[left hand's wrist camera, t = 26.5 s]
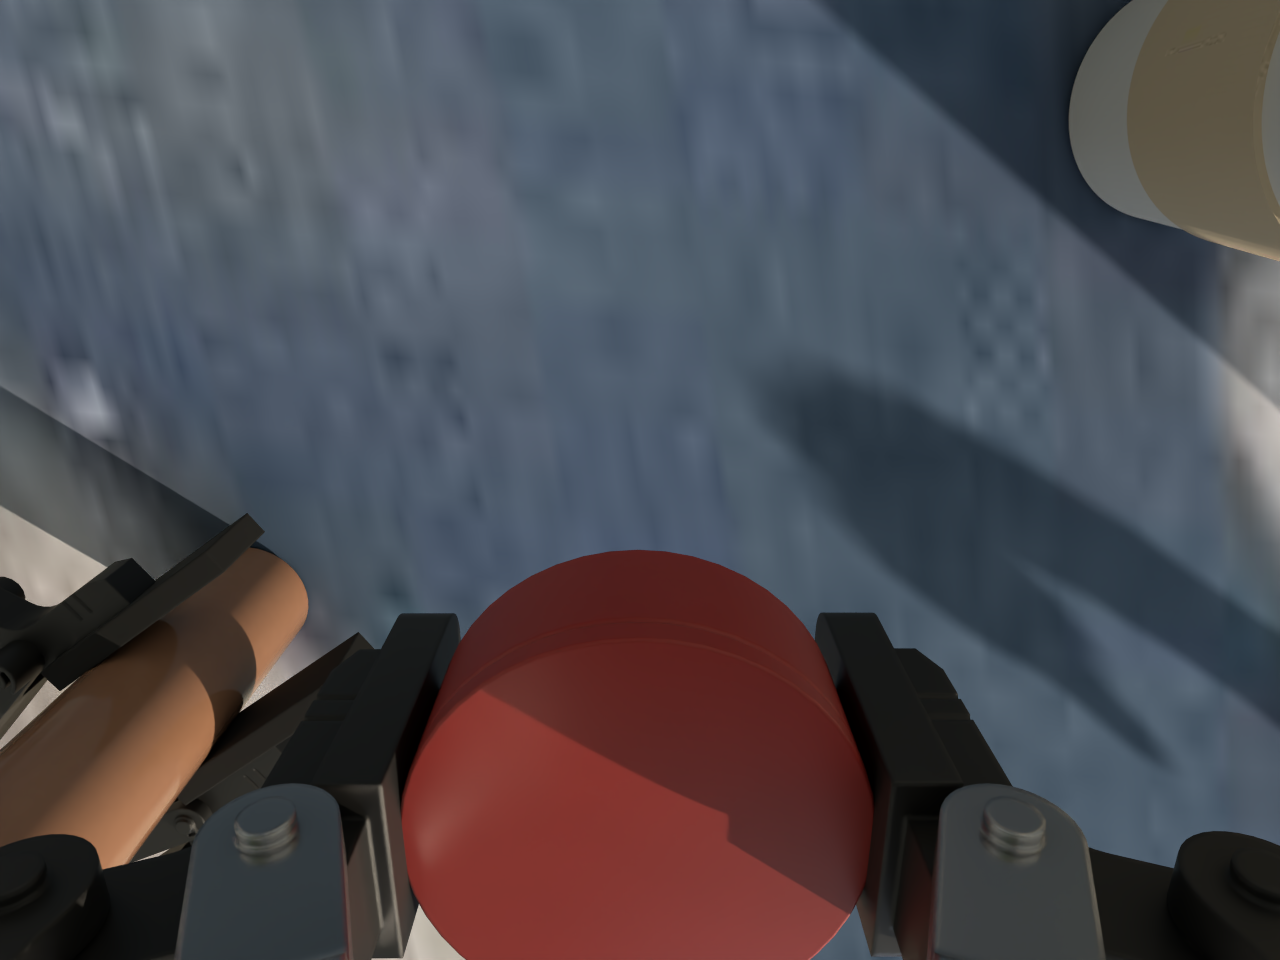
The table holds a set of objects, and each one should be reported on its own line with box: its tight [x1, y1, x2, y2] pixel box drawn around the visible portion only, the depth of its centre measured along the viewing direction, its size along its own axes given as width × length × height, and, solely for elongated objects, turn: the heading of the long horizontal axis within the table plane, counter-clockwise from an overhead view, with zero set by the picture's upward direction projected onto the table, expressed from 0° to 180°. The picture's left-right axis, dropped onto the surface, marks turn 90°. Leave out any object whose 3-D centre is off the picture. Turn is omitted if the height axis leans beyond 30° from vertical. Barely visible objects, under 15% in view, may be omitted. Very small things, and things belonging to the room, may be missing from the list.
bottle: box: [0, 547, 308, 869], centre depth 24 cm, size 4×4×19 cm
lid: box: [401, 550, 874, 960], centre depth 10 cm, size 5×5×2 cm
